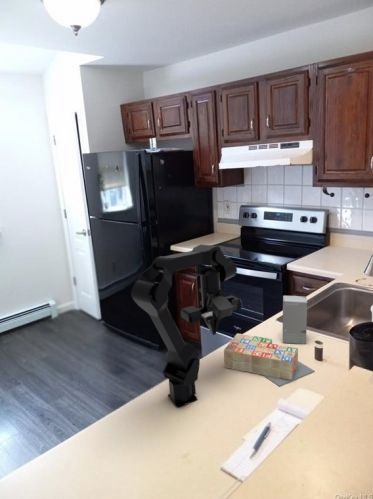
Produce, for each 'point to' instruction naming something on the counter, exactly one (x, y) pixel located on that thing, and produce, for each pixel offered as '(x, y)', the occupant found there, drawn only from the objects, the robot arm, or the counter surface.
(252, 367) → the stack of blocks
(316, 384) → the counter surface
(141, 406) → the counter surface
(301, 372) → the mat
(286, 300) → the skincare box
